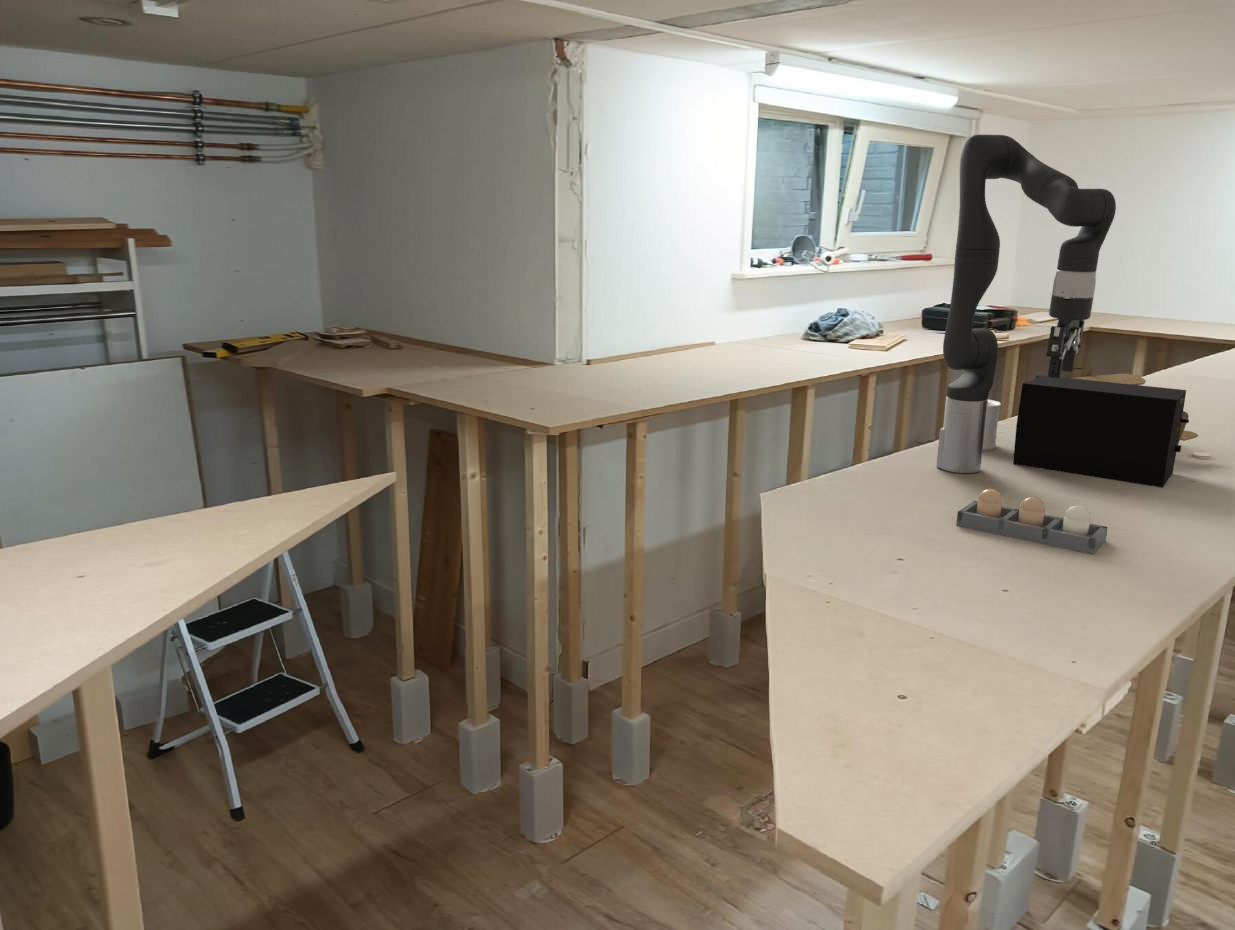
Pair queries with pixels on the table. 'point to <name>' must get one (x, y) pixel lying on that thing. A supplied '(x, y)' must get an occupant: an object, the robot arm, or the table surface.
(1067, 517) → the cream egg
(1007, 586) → the table surface
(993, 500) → the brown egg back
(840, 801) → the table surface
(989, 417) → the white tall cylinder
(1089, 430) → the uninterruptible power supply
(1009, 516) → the egg tray
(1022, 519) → the brown egg middle
